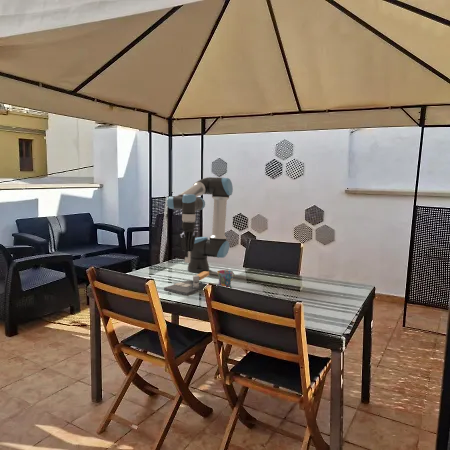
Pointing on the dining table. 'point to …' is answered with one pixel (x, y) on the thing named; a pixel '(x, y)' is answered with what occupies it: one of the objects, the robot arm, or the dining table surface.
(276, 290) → the dining table surface
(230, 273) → the mug
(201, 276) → the cable arm
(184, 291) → the server panel
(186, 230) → the robot arm
